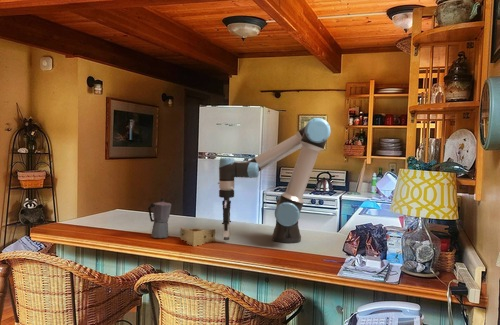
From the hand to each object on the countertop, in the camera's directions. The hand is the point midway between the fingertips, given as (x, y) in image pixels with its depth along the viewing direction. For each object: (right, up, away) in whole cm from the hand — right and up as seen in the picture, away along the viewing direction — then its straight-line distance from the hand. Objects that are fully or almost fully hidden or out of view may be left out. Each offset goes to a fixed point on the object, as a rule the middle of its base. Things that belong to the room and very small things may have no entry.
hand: (226, 236), depth 200 cm
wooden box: (-15, -3, +1) cm, 15 cm away
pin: (0, -2, 0) cm, 2 cm away
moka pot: (-35, -2, +8) cm, 36 cm away
